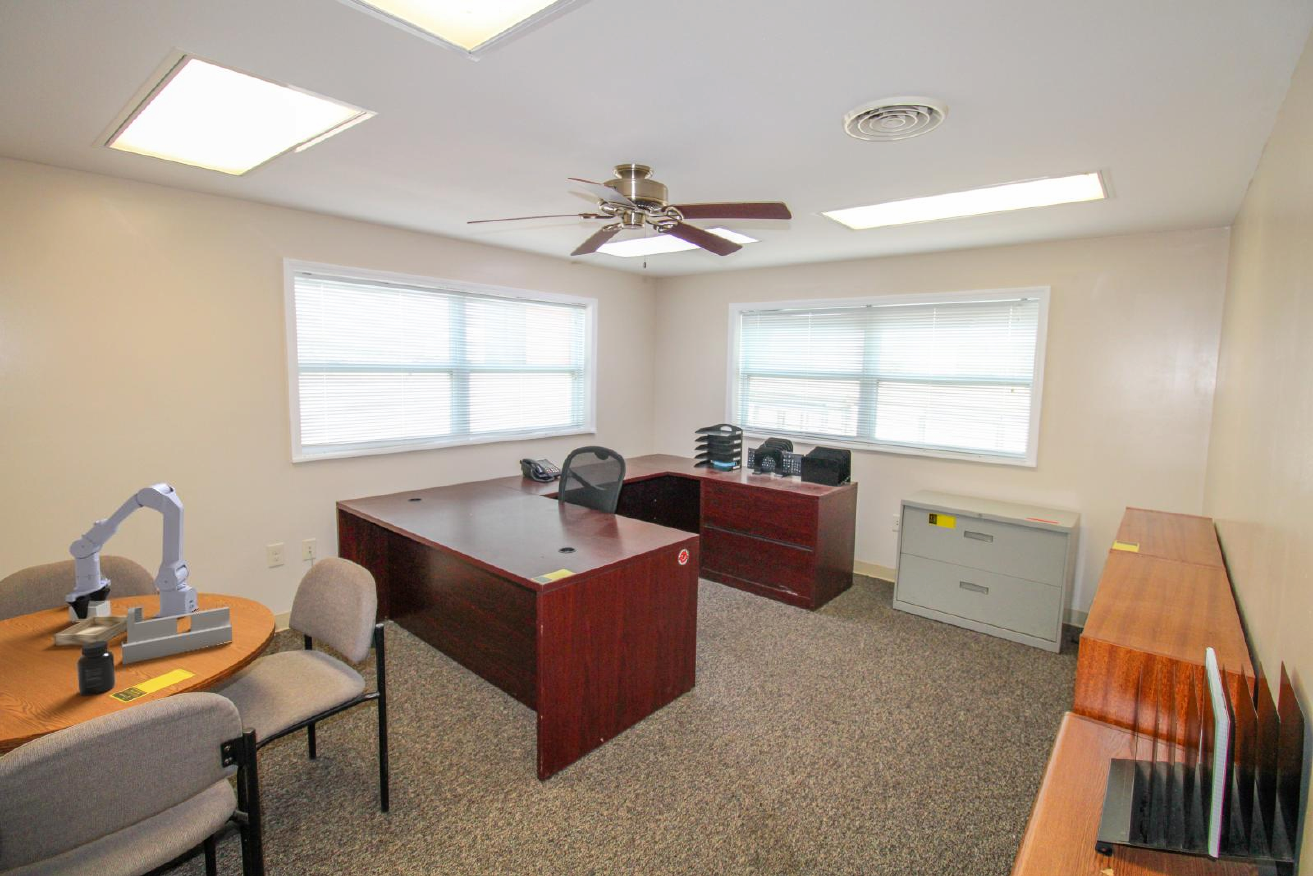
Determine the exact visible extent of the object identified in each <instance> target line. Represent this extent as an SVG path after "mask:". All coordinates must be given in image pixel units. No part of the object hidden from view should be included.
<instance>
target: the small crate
mask: <svg viewBox="0 0 1313 876" xmlns="http://www.w3.org/2000/svg"><path fill="white" fill-rule="evenodd" d="M68 611H69V612H68V613H69V614H68V615H69V622H70V621H84V620H86V619H88V618H90V617H92V616H110V615H111V616H112V613H111V601H110V600H105V601H89V605H88V615H87V618H86V619H78V617H77V615H76V613H75V611H74V609H73V608H72V606H71V605H70V606H69V607H68Z"/></svg>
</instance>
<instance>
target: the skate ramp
mask: <svg viewBox="0 0 1313 876" xmlns="http://www.w3.org/2000/svg"><path fill="white" fill-rule="evenodd" d="M132 604H134V605H132V606H133V607H132V606H131V607H129V605H127V612H126V616H127V630H126V632H127V634H126V635H127V637H126V640H127V641H126V643H124V642H123V641H121V654H122V655H121V656H122V657H121V658H122V665H127V664H131V663H136V662H141V661H146V660H151V659H157V658H162V657H166V656H167V657H168V656H171V655H176V654H181V653H180V652H182V653H185V652H184V651H187V652H189V651H188V650H192V651H196V650H195V649H197V650H200V649H199V648H202V649H204V648H203V647H206V646H212V647H215V646H214V645H217V644H220V643H224V642H228V641H232V642H233V622H232V620H230V619H231V618H230V606H227V604H228V605H230V603H229V602H226V603H225V604H221V603H220V604H219V605H220V606H217V605H218V604H215V605H213V606H214V607H213V606H212V608H210V605H209V606H208V605H207V608H206V610H205V609H204V606H203V607H201V608H202V609H201V608H200V610H198V609H197V608H196V610H195V611H193V612H191V609H190V611H189V612H190V613H188V614H184V611H185V610H184V611H183V614H182V615H176V616H170V617H164V615H163V617H160V616H159V617H152V618H151V619H149V616H146V617H148V618H146V619H147V620H144V612H143V611H144V609H143V608H144V607H143V602H139V603H138V606H135V605H136V602H135V603H132ZM139 605H141V606H139ZM221 606H222V607H221ZM224 606H225V607H224ZM209 608H210V609H209ZM203 609H204V610H203ZM197 610H198V611H197ZM178 612H179V611H178ZM165 614H166V613H165ZM177 614H178V613H177ZM154 615H155V614H153V615H152V616H154ZM159 615H160V614H159ZM171 615H172V614H171ZM165 616H166V615H165ZM186 617H190V630H187V632H184V630H183V631H181V632H182V633H179V630H178V618H179V619H181V618H186ZM225 625H226V626H225ZM213 627H215V628H213ZM209 628H210V629H209ZM177 631H178V632H177ZM178 633H179V634H178ZM217 646H218V645H217Z"/></svg>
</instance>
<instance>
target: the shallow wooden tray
mask: <svg viewBox="0 0 1313 876" xmlns="http://www.w3.org/2000/svg"><path fill="white" fill-rule="evenodd" d="M125 630H126V631H127V615H111V616H92V617H90V618H88V619H86V620H84V621H82V622H77V623H76V624H74V625H72V626H69V627H67V628H66V629H64V630H61V631H60V632H57V633H55V634H53V646H84V645H86V644H88V643H92V642H97V641H106V642H108V641H110V640H111V639H113V638H115V637H116V636H118V634H119V635H120V634H122V633H124V632H125ZM121 632H122V633H121ZM114 636H115V637H114Z"/></svg>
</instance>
